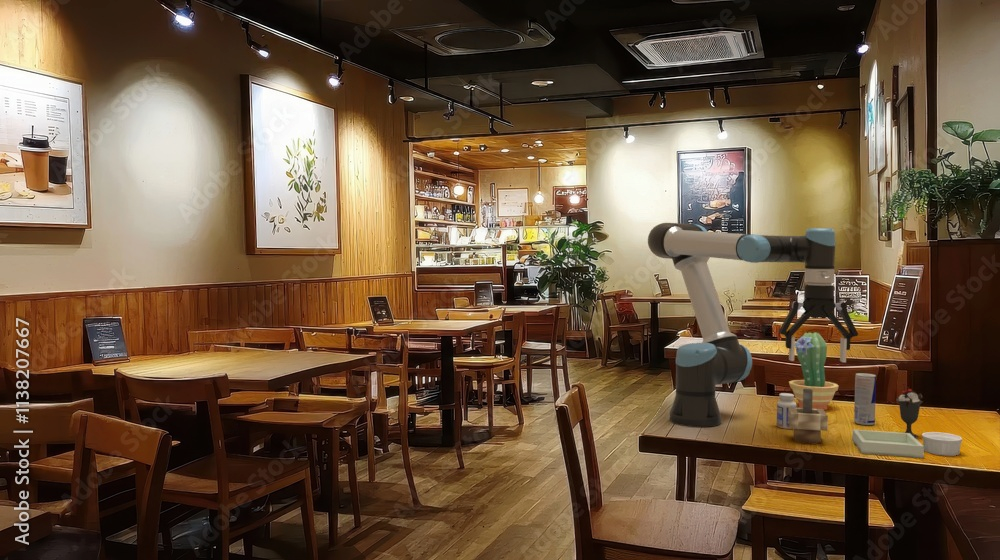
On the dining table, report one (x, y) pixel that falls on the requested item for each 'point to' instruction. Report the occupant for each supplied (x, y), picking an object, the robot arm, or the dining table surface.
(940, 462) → the dining table surface
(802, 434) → the stake
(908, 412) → the sundae
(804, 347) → the potted cactus
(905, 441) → the tray
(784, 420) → the pill bottle
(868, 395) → the beverage can
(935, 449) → the ramekin
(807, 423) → the ring
